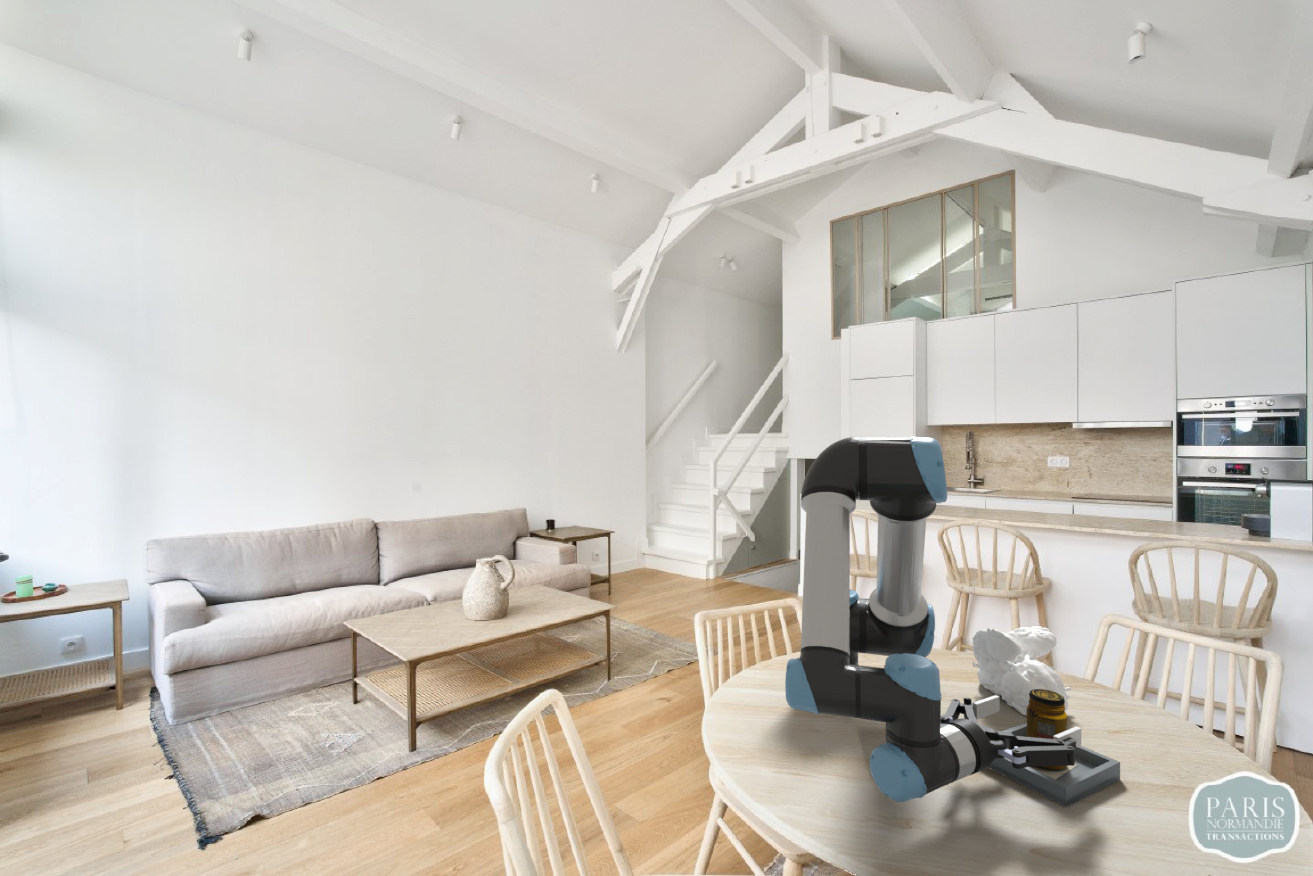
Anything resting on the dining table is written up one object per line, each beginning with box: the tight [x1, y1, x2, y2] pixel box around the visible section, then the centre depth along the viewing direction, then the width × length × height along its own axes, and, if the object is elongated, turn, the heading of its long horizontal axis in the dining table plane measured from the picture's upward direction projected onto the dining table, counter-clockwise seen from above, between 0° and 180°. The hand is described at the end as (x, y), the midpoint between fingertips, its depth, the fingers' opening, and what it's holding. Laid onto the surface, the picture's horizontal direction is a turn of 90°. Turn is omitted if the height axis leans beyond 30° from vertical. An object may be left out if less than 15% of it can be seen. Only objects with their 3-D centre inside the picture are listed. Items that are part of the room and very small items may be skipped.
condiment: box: [1025, 689, 1078, 780], centre depth 106 cm, size 7×8×12 cm
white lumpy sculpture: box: [972, 625, 1072, 717], centre depth 133 cm, size 19×20×20 cm
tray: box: [988, 722, 1121, 808], centre depth 106 cm, size 16×16×3 cm
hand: (1036, 718), depth 104 cm, fingers open, 13 cm apart
